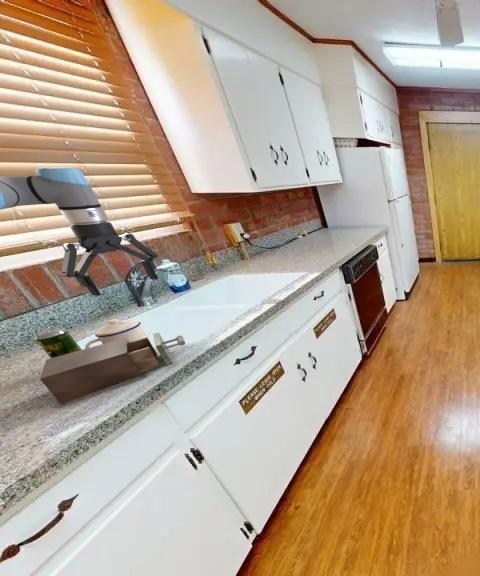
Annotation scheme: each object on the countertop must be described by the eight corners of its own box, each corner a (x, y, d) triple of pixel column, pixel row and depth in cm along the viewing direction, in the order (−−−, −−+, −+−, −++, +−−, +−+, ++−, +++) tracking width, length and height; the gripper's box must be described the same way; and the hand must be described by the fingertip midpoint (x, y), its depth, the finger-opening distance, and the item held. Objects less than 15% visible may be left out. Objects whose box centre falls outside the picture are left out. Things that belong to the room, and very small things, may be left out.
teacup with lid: (150, 340, 102) (132, 310, 97) (157, 347, 97) (137, 317, 92) (94, 358, 93) (71, 327, 88) (98, 368, 88) (73, 335, 83)
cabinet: (141, 362, 91) (126, 337, 87) (143, 378, 84) (127, 352, 81) (67, 386, 81) (46, 359, 78) (62, 406, 75) (39, 378, 71)
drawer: (188, 345, 98) (178, 326, 95) (192, 357, 92) (182, 338, 89) (107, 370, 86) (93, 350, 83) (106, 387, 80) (91, 365, 77)
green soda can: (67, 363, 90) (41, 330, 86) (94, 357, 93) (69, 324, 88) (55, 372, 86) (26, 338, 81) (83, 366, 89) (57, 332, 84)
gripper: (26, 232, 77) (76, 304, 85) (153, 215, 99) (182, 274, 107) (9, 231, 78) (59, 301, 87) (137, 214, 100) (167, 272, 109)
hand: (127, 286), depth 97 cm, fingers open, 13 cm apart
